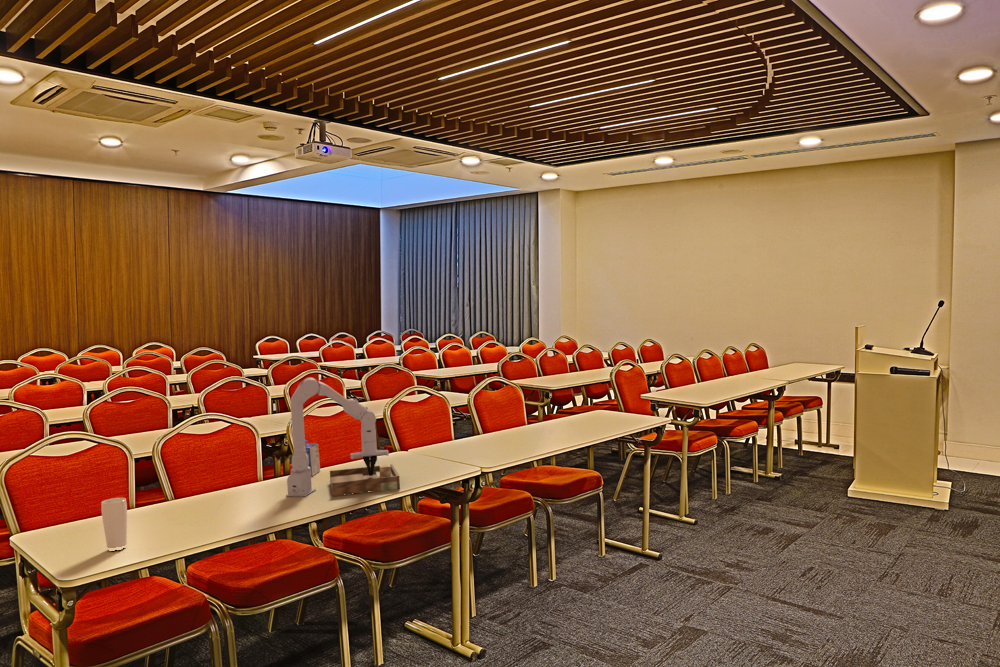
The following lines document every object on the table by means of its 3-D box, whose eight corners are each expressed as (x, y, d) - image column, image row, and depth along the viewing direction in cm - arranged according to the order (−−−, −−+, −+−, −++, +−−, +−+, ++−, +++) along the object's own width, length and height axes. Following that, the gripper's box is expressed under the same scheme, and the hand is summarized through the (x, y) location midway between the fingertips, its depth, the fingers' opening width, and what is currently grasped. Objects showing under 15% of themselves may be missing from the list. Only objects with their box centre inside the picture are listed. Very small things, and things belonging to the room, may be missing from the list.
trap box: (332, 496, 269) (332, 483, 269) (330, 483, 290) (329, 470, 290) (399, 488, 276) (399, 475, 276) (392, 476, 297) (392, 464, 297)
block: (380, 477, 283) (380, 467, 282) (379, 475, 286) (379, 465, 286) (391, 476, 284) (390, 466, 284) (390, 474, 288) (389, 464, 287)
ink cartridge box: (308, 471, 314) (306, 438, 313) (320, 471, 313) (318, 437, 313) (299, 476, 304) (297, 442, 303) (312, 476, 303) (310, 442, 303)
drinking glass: (129, 544, 224) (126, 496, 223) (129, 550, 218) (126, 501, 217) (104, 548, 221) (101, 499, 220) (104, 554, 215) (100, 504, 214)
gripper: (386, 437, 289) (388, 471, 289) (349, 440, 285) (351, 475, 286) (388, 440, 282) (390, 474, 283) (350, 444, 278) (352, 478, 279)
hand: (370, 475), depth 284 cm, fingers closed
